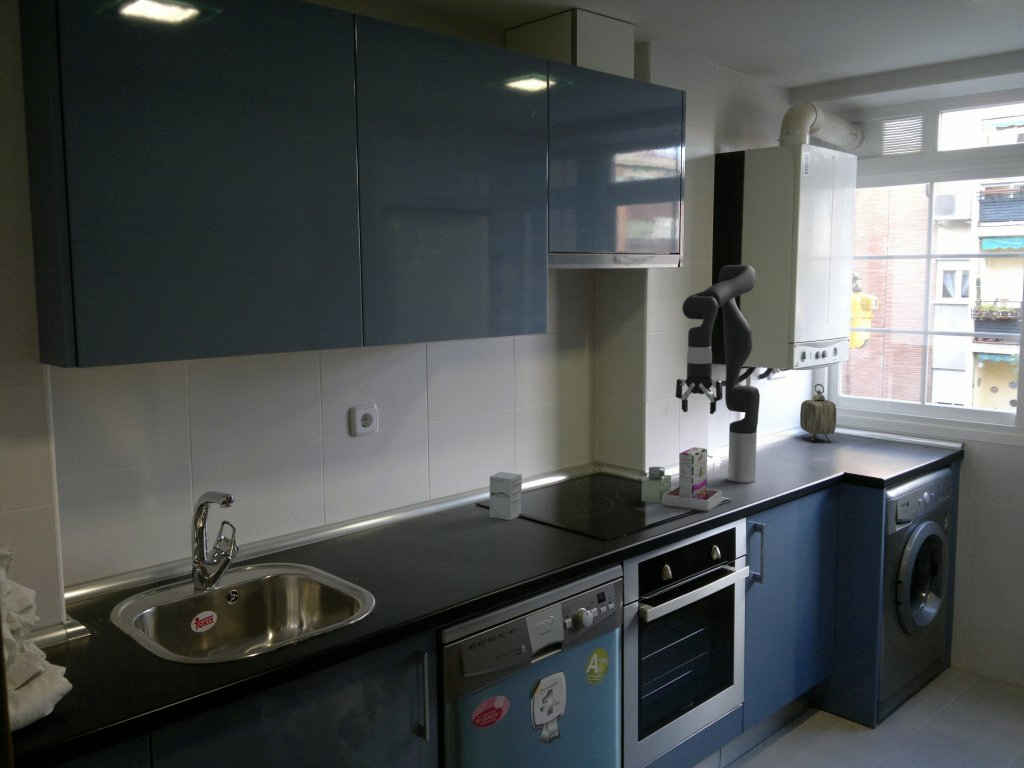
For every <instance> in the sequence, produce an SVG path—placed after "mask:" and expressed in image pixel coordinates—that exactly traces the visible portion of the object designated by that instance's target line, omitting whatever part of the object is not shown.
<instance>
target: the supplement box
mask: <svg viewBox="0 0 1024 768" xmlns="http://www.w3.org/2000/svg"><path fill="white" fill-rule="evenodd" d="M522 479H523V474H521V473H520V474H519V473H513V472H505V471H499V472H497V473H494V474H492V475H490V476H489V518H496V519H499V520H506V521H512V520H515V519H516V518H518V517H520V516H521V515H522V490H523V489H522V486H523V485H522ZM520 514H521V515H520ZM519 515H520V516H519Z"/></svg>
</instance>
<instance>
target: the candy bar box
mask: <svg viewBox="0 0 1024 768" xmlns="http://www.w3.org/2000/svg"><path fill="white" fill-rule="evenodd" d="M678 457H679V461H678V463H679V466H678V467H679V469H678V470H679V472H678V477H679V479H678V485H679V497H687V498H694V499H702V500H705V499H707V489H708V488H707V485H708V483H707V481H708V480H707V479H708V473H707V471H708V448H704V447H698V446H695V447H691V448H689V449H686V450H683V451H681V452H680V453H679V455H678Z"/></svg>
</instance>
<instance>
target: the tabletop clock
mask: <svg viewBox="0 0 1024 768" xmlns="http://www.w3.org/2000/svg"><path fill="white" fill-rule="evenodd" d="M817 386H820V387H821V388H822V391H821V390H820V389H816V388H817ZM814 392H815V393H816V394H814V395H813V397H812V399H806V400H804V401H803V402H801V404H800V414H799V417H800V419H799V423H800V428H801V430H803V431H805V432H807V433H809V434H812V437H810V441H811V442H814V441H815V439H817V438H818V435H823V436H824V437H825V439H826V440H827V441H826V442H827V444H828V443H829V444H830V443H831V442H832V440H831V439H830V438H829V436H828V435H829V434H830V435H831V434H833V435H834V434H835V432H836V428H837V427H836V426H837V406H836V403H835V402H833V401H831V400H828V399H826V397H825V396H824V395H823V393H824V392H825V387H824V385H823V384H822V383H817V384H815V385H814Z"/></svg>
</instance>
